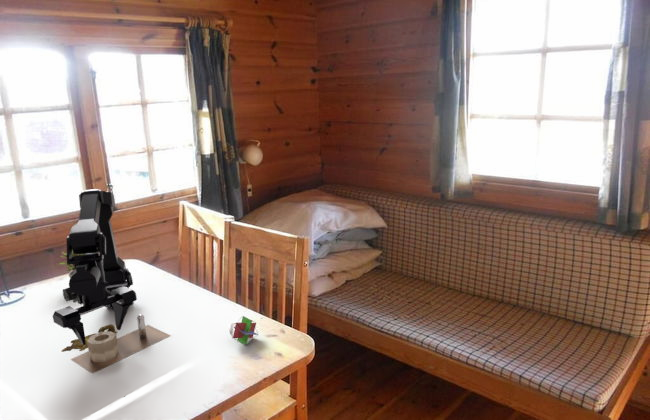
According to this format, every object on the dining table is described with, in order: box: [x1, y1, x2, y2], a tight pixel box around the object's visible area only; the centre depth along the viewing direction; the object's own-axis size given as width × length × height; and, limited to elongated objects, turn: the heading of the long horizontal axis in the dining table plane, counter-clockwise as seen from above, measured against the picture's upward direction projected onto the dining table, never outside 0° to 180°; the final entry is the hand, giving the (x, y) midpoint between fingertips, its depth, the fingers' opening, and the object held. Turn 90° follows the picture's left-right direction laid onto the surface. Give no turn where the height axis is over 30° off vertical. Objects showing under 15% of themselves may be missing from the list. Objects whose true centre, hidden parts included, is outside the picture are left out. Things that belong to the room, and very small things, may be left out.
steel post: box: [136, 313, 147, 339], centre depth 134 cm, size 2×2×7 cm
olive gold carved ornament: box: [61, 324, 118, 353], centre depth 133 cm, size 9×5×15 cm
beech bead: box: [87, 330, 119, 362], centre depth 125 cm, size 6×6×5 cm
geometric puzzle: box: [229, 315, 259, 347], centre depth 132 cm, size 7×7×8 cm
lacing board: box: [70, 324, 172, 374], centre depth 130 cm, size 22×11×1 cm, turn 142°
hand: (101, 336), depth 125 cm, fingers open, 9 cm apart
